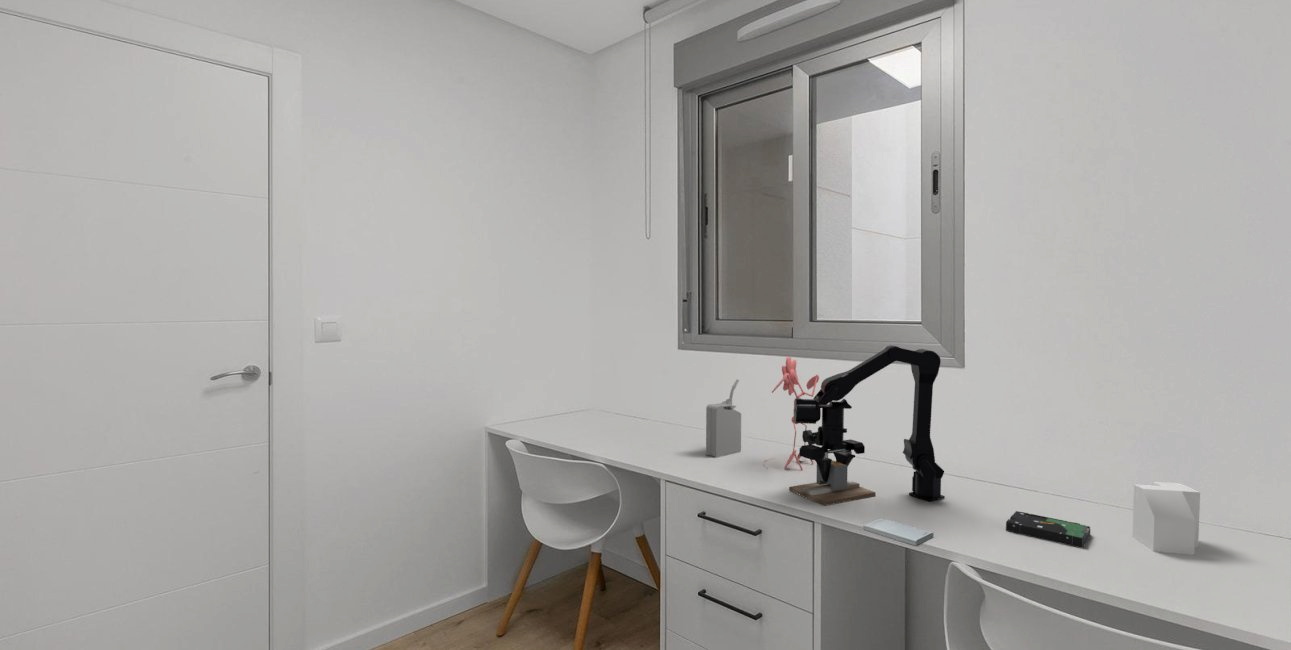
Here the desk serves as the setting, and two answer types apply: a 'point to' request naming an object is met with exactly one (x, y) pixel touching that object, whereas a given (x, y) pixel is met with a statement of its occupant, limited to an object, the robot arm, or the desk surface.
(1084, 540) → the disk drive
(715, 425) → the fuel canister
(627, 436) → the desk surface
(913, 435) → the robot arm
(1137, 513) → the corner bracket
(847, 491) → the mounting board
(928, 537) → the hard drive
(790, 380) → the pink flower figurine
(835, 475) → the block
